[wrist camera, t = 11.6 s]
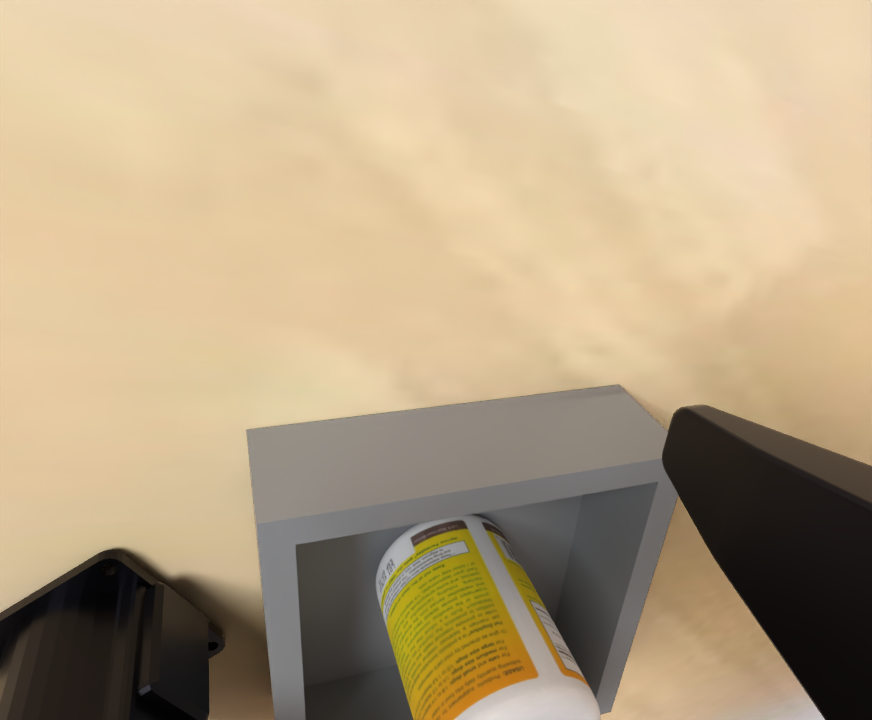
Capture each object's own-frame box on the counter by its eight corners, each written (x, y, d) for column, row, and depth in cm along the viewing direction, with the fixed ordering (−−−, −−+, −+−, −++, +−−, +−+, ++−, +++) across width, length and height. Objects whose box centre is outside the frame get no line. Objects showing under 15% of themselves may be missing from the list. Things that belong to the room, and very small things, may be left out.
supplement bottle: (349, 601, 26) (422, 903, 17) (410, 493, 24) (525, 771, 16) (464, 614, 28) (577, 882, 20) (527, 518, 27) (680, 767, 18)
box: (563, 627, 32) (610, 711, 28) (272, 696, 28) (283, 805, 24) (619, 384, 25) (691, 453, 22) (246, 429, 21) (256, 524, 18)
